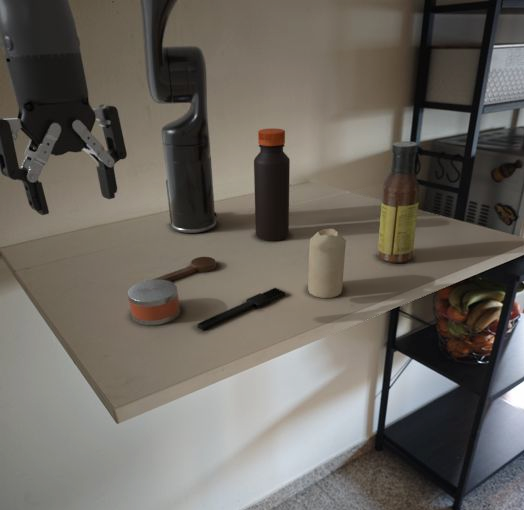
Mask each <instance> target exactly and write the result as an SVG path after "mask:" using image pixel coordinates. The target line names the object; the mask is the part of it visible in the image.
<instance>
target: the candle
mask: <svg viewBox="0 0 524 510" xmlns="http://www.w3.org/2000/svg"><path fill="white" fill-rule="evenodd" d="M346 246H347V241H346V239H345V238H344V236H343V235H342V234H340V233H339V232H338V231H337V230H336V229H334V228H323V229H321V230H320V231H318V230H317V232H316V233H315V234H314V235H312V236H311V238H310V239H309V251H308V252H309V253H308V278H307V279H308V280H307V288H308V293H309V294H310V295H311V296H314V297H317V298H321V299H331V298H335V297H337V296H340V295H341V294H342V291H343V283H344V271H345V257H346Z"/></svg>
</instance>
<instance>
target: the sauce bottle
mask: <svg viewBox="0 0 524 510" xmlns="http://www.w3.org/2000/svg"><path fill="white" fill-rule="evenodd" d="M418 149H419V143H418V142H416V141H407V140H405V141H404V140H403V141H397V142H394V143H392V147H391V153H392V159H391V168H390V173H389V175H388V176H387V178H386V179H385V180H384V182H383V186H382V197H381V199H382V200H381V207H380V218H379V219H380V221H379V232H378V244H377V249H378V257H379V258H380V259H381V261H385V262H388V263H392V264H394V263H395V264H401V263H405V262H408V261H410V260H411V258H412V257H413V250H414V246H415V238H416V228H417V218H418V211H419V202H420V201H419V200H420V199H419V198H420V197H419V194H420V183H419V181H418V177H417V175H416V157H417V153H418V152H419V150H418Z"/></svg>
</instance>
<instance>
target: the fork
mask: <svg viewBox="0 0 524 510" xmlns="http://www.w3.org/2000/svg"><path fill="white" fill-rule="evenodd" d="M285 296H286V291H283V290H281V289H279V288H277V287H273V288H271V289H269V290H267V291H265V292H262V293H258V294H255V295H253V296H251V297H248V298H246V301H245V302H242V303H241V304H239V305H237V306H234V307H231V308H229V309H228V310H225V311H223V312H220V313H219V314H216V315H214V316H211V317H209V318H207V319H204V320H203V321H200V322H198V323H197V324H196V325H197V328H198V329H199V330H201V331H202V332H203V331H206V330H208V329H210V328H213V327H215V326H217V325H219V324H221V323H223V322H226V321H228V320H230V319H232V318H234V317H236V316H238V315H241V314H243V313H246V312H248V311H250V310H251V309H254V308H255V309H260V308H263V307H265V306H266V305H268V304H271V303H272V302H274V301H276V300H278V299H280V298H283V297H285Z"/></svg>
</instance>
